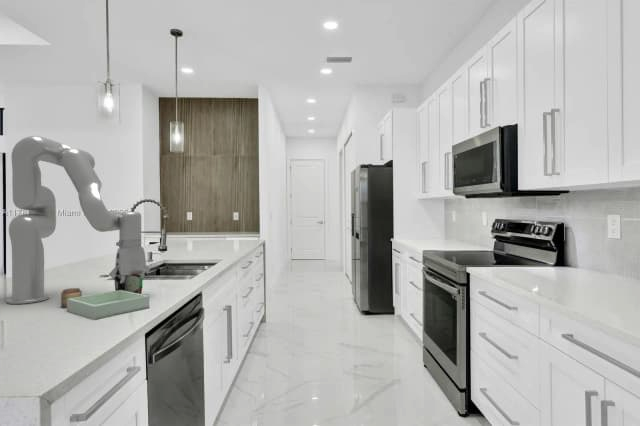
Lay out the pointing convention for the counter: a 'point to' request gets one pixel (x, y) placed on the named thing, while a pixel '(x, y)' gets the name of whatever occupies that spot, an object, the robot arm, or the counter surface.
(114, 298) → the bin
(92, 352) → the counter surface
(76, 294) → the salt cellar
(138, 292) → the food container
